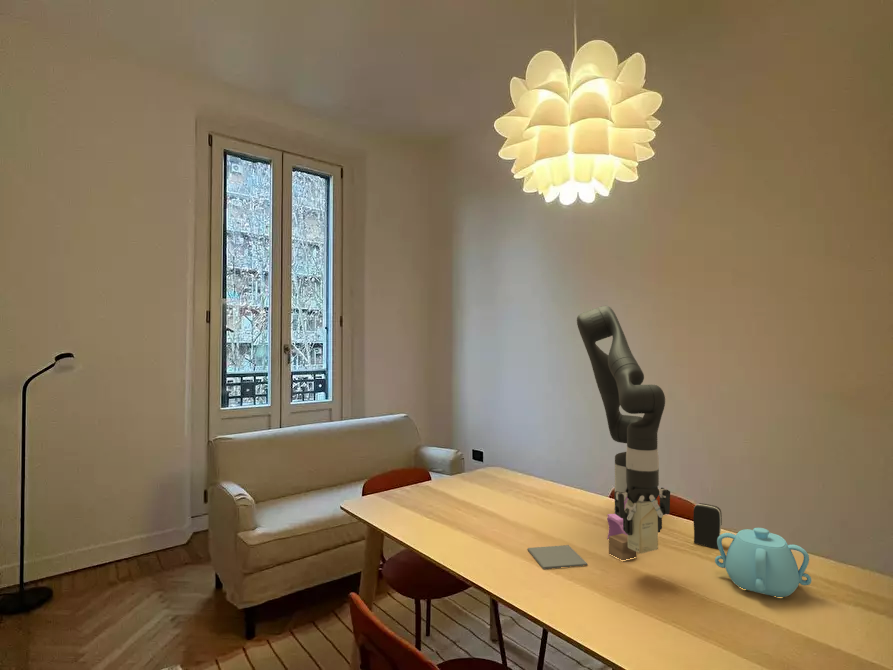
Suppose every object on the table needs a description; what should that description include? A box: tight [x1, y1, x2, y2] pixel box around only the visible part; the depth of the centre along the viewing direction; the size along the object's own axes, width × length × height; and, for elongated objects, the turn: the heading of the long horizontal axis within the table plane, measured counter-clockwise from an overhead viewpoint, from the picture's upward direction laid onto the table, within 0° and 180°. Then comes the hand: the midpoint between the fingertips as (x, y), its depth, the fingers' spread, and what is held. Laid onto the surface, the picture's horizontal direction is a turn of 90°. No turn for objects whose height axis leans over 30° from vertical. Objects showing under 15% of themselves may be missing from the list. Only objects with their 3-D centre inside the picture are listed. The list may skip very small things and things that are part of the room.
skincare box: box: [627, 499, 659, 555], centre depth 126 cm, size 6×4×12 cm
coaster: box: [527, 544, 589, 570], centre depth 137 cm, size 12×12×1 cm
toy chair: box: [606, 497, 628, 540], centre depth 147 cm, size 8×9×15 cm
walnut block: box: [608, 533, 638, 560], centre depth 139 cm, size 5×5×5 cm
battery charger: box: [693, 502, 723, 550], centre depth 146 cm, size 7×4×11 cm, turn 49°
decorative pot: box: [714, 527, 812, 598], centre depth 122 cm, size 16×16×14 cm
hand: (642, 532), depth 126 cm, fingers closed on skincare box, 7 cm apart
